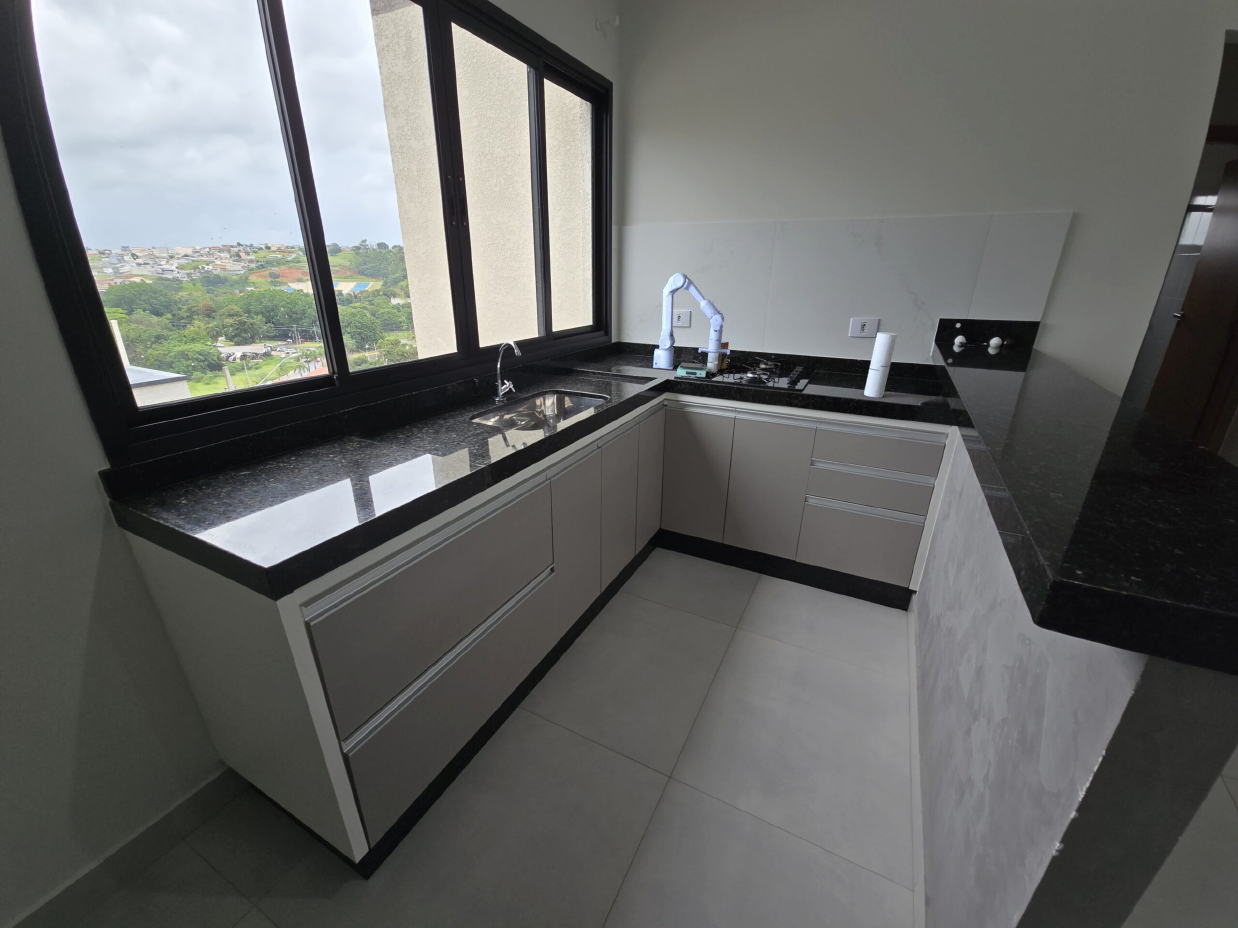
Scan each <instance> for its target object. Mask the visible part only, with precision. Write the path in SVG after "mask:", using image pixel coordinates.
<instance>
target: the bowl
mask: <svg viewBox="0 0 1238 928" xmlns="http://www.w3.org/2000/svg"><path fill="white" fill-rule="evenodd" d="M706 368H707V372H706V373H710V374H716V373H717V372H718V370H719V369H718V362H708V361H707V363H706Z"/></svg>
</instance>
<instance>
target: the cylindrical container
mask: <svg viewBox="0 0 1238 928" xmlns="http://www.w3.org/2000/svg"><path fill="white" fill-rule="evenodd" d="M897 338H898V333H895V332H886V331H884V332H883V331H879V332H877V334H876V337H875V342H874V346H873V349H872V355H871V360H870V364H869V369H868V373H867V378H866V383H865V387H864V392H863V395H864V396H866V397H870V398H883V397H884V394H885V389H886V385H887V379H888V376H889V372H890V368H891V364H892V359H893V354H894V350H895V345H896V342H897Z"/></svg>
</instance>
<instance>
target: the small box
mask: <svg viewBox="0 0 1238 928" xmlns="http://www.w3.org/2000/svg"><path fill="white" fill-rule="evenodd" d="M729 345H730V342H729V341H725V340H721V349H726V350H729V347H730V346H729ZM710 352H712V351H710ZM728 356H729V354H727V357H726V358H725V360H724V362H723V365H722V368H721V369H720V364H721V357H722V354H719V353H707V362H718V370H723V369H727V365H728Z"/></svg>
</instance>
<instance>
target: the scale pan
mask: <svg viewBox="0 0 1238 928" xmlns="http://www.w3.org/2000/svg"><path fill="white" fill-rule="evenodd" d="M679 366H680V368H692V369H704V367H706V363H705V364H703V363H691V362H681V363H680V365H679Z"/></svg>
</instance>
